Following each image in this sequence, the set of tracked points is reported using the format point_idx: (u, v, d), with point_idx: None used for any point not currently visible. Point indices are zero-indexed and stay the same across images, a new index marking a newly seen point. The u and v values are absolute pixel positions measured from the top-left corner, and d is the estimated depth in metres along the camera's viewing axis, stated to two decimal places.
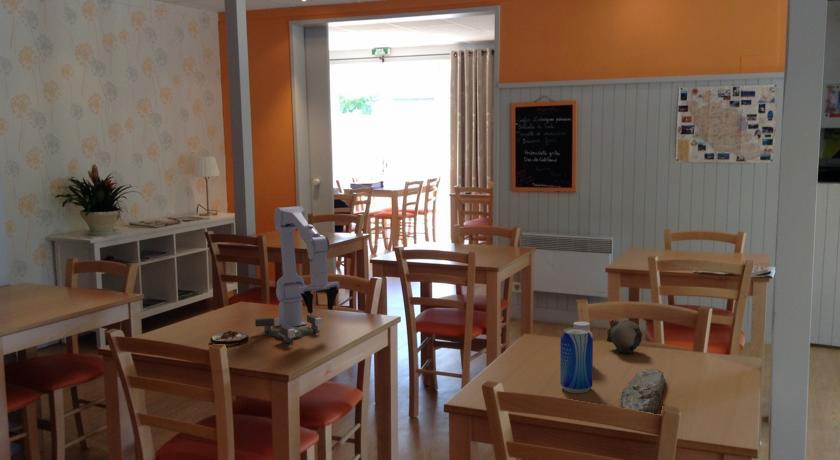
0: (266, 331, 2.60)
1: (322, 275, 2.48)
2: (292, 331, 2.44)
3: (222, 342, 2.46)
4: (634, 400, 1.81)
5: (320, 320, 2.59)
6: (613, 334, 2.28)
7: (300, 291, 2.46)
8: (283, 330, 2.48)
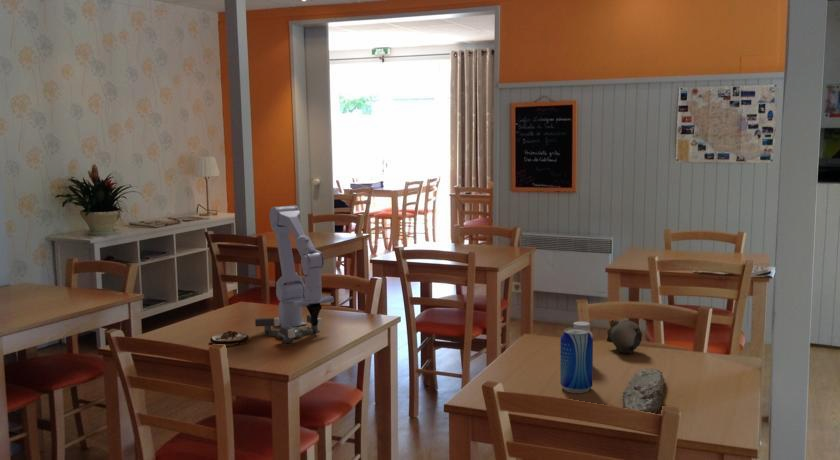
0: (266, 331, 2.60)
1: (316, 290, 2.55)
2: (292, 331, 2.44)
3: (222, 342, 2.46)
4: (636, 400, 1.80)
5: (320, 320, 2.59)
6: (613, 334, 2.28)
7: (295, 305, 2.54)
8: (283, 330, 2.48)
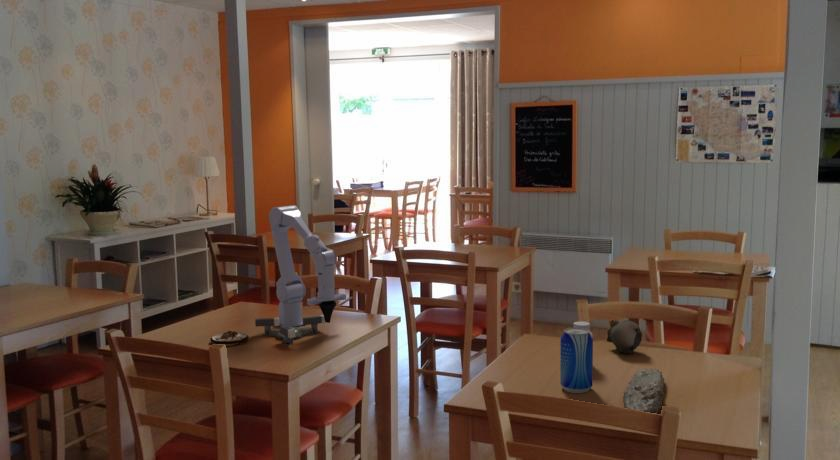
0: (266, 331, 2.60)
1: (329, 288, 2.58)
2: (292, 331, 2.44)
3: (222, 342, 2.46)
4: (637, 401, 1.80)
5: None
6: (613, 334, 2.28)
7: (308, 303, 2.56)
8: (283, 330, 2.48)
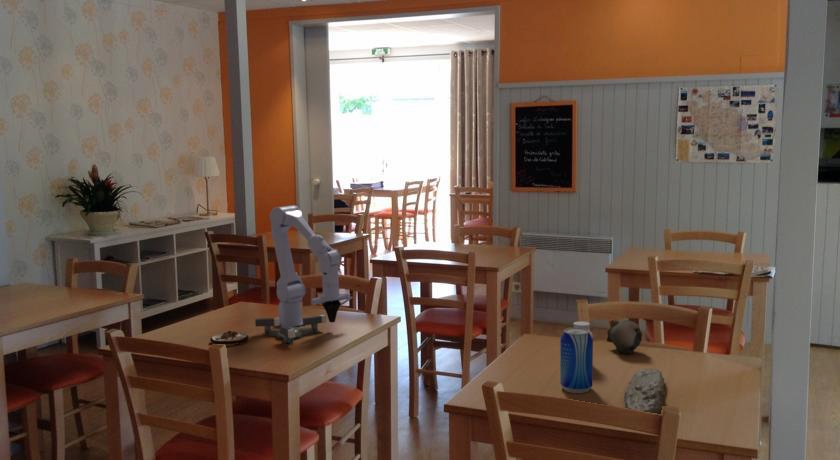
0: (266, 331, 2.60)
1: (334, 287, 2.59)
2: (292, 331, 2.44)
3: (222, 342, 2.46)
4: (638, 401, 1.80)
5: None
6: (613, 334, 2.28)
7: (313, 303, 2.58)
8: (283, 330, 2.48)
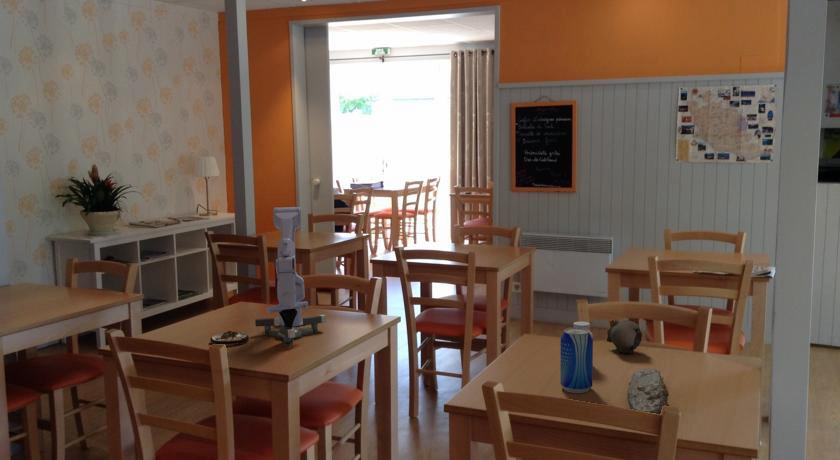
0: (266, 331, 2.60)
1: (290, 295, 2.47)
2: (292, 331, 2.44)
3: (222, 342, 2.46)
4: (643, 401, 1.80)
5: None
6: (613, 334, 2.28)
7: (268, 311, 2.46)
8: (283, 330, 2.48)
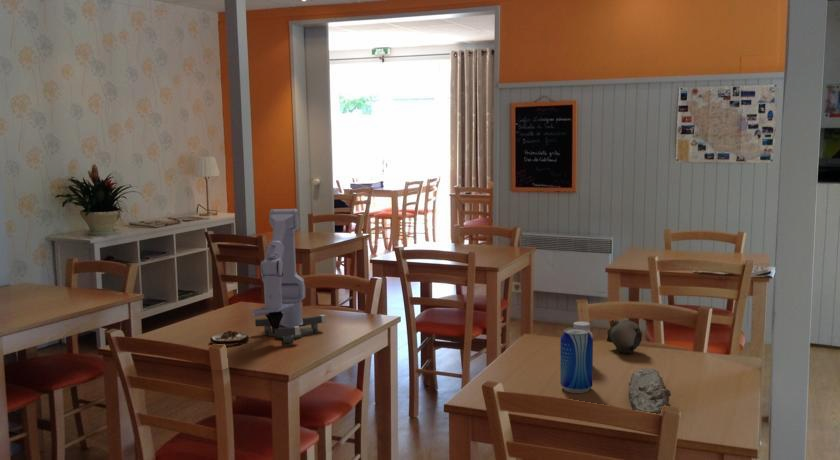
0: (266, 331, 2.60)
1: (276, 298, 2.44)
2: None
3: (222, 342, 2.46)
4: (646, 401, 1.80)
5: None
6: (613, 334, 2.28)
7: (253, 315, 2.43)
8: (285, 331, 2.46)
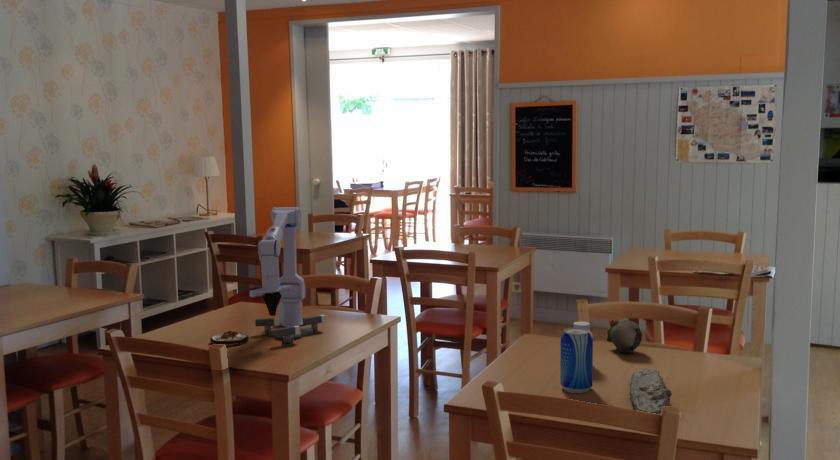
0: (266, 331, 2.60)
1: (273, 278, 2.43)
2: None
3: (222, 342, 2.46)
4: (647, 401, 1.80)
5: None
6: (613, 334, 2.28)
7: (251, 295, 2.42)
8: (285, 331, 2.46)
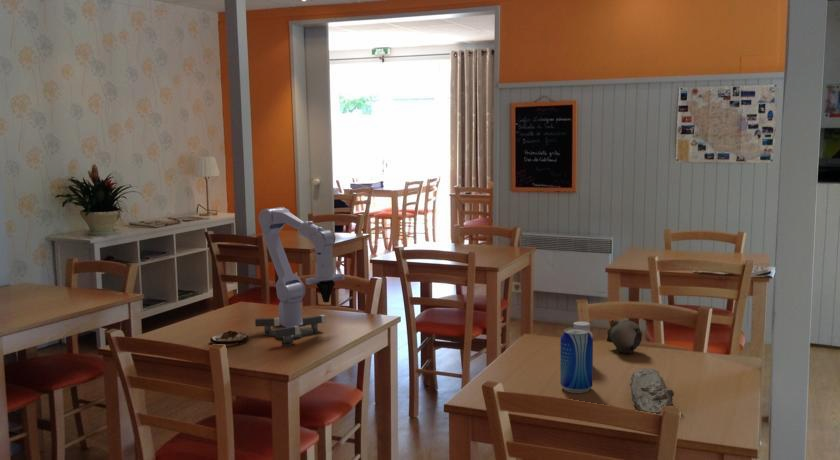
0: (266, 331, 2.60)
1: (328, 267, 2.59)
2: None
3: (222, 342, 2.46)
4: (650, 402, 1.79)
5: None
6: (613, 334, 2.28)
7: (307, 282, 2.58)
8: (285, 331, 2.46)
